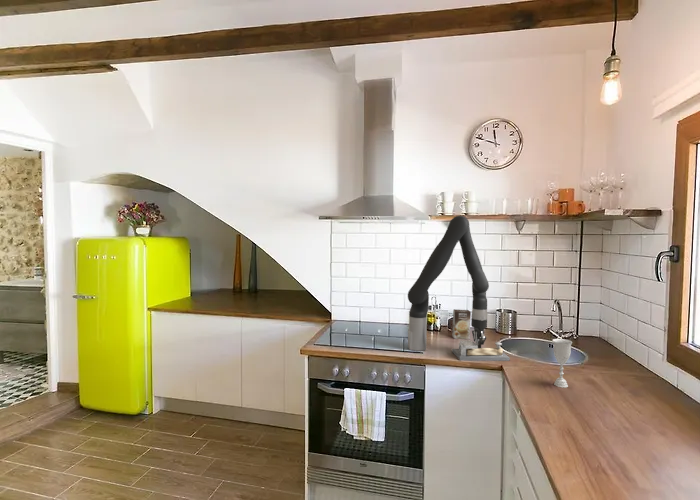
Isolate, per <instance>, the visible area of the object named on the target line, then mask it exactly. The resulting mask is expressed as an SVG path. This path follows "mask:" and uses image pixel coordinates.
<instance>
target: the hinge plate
mask: <svg viewBox="0 0 700 500" xmlns="http://www.w3.org/2000/svg"><path fill="white" fill-rule="evenodd" d="M494 344H495V345H496V348H497V349H500V348H501V346H502V345H503V343H502V342H499V341H496V342H495V343H494ZM451 352H452V353H453V354H454V355H455V356H456V358H458V360H459V361H471V362H472V361H474V362H475V361H477V362H478V361H491V362H492V361H496V362H497V361H498V362H499V361H502V362H504V361H509V362H510V359H511V358H510V356H508V355H507V354H506V353H505V352H503V355H467V354H466V356H461V355H460V354H459V348H451Z"/></svg>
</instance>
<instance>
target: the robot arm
mask: <svg viewBox="0 0 700 500" xmlns="http://www.w3.org/2000/svg"><path fill="white" fill-rule="evenodd" d="M458 242H459V244H460V248H461V252H462V253H461V254H462V257H463V261H464V264H465V267H466V270H467V272H468V274H469V275H470V278H471V281H472V283H471V292H472V305H471V306H472V309H471V318H470V327H472V328H473V330H471V333H472V338H473V342H474V343H475V344H476V345H478V348H482V345H484V344H485V342H486V341H487V336H485V329H487V328H488V298H487V291H489V287H490V284H489V281H488V279H487V276H486V274H485V272H484V270H483V266H482V264H481V261H480V260H481V259H480V257H479V255H478V252H477V250H476V247H475V245H474V242H473V238H472V234H471V228H470V221H469V219H468V218H467V217H466V216H464V215H456V216H454V217H453V218H451V219H450V221H449V223H448V226H447V229H446V230H445V233H444V235H443V236H442V238H441V240H440V241H439V243H438V244H437V245H436V247H435V248H434V249H433V251H432V253H431V254H430V256H429V257H428V259H427V261H426V263H425V265H424V266H423V268H422V270H421V272H420V275H419V276H418V278H417V279H416V281H415V282H414V283H413V285H412V286H411V287H410V288H409V290H408V292H407V299H408V302H409V303H411V307H410V309H409V311H408V312H409V313H408V315H409V316H408V318H409V319H408V331H407V347H408V349H409V350H410V351H414V352H415V351H416V352H423V351H426V350H427V341H428V340H427V327H428V325H427V324H428V312H429V300H430V296H429V289H430V286H432V284H433V283H434V281H436V279H438V277H439V276H440V275H441V274H442V273H443V271H444V270H445V268H446V266H447V264H449V261H450V259H451V257H452V256H453V255H452V254H453V253H454V251H455V247H456V246H457V244H458Z"/></svg>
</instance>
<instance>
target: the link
mask: <svg viewBox="0 0 700 500" xmlns="http://www.w3.org/2000/svg"><path fill="white" fill-rule="evenodd" d="M503 353H504V352H503V348H501V347H500V349H497V347H491V348H490V347H481V348H478V349H466V354H467V355H503Z"/></svg>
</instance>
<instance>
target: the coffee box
mask: <svg viewBox="0 0 700 500" xmlns="http://www.w3.org/2000/svg"><path fill="white" fill-rule="evenodd" d="M452 311H453V313H452V335H451V336H452V338H453V339H457V340H459V339H460V340H470V339H471V318H472V311H470V310H468V309H453V310H452Z"/></svg>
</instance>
